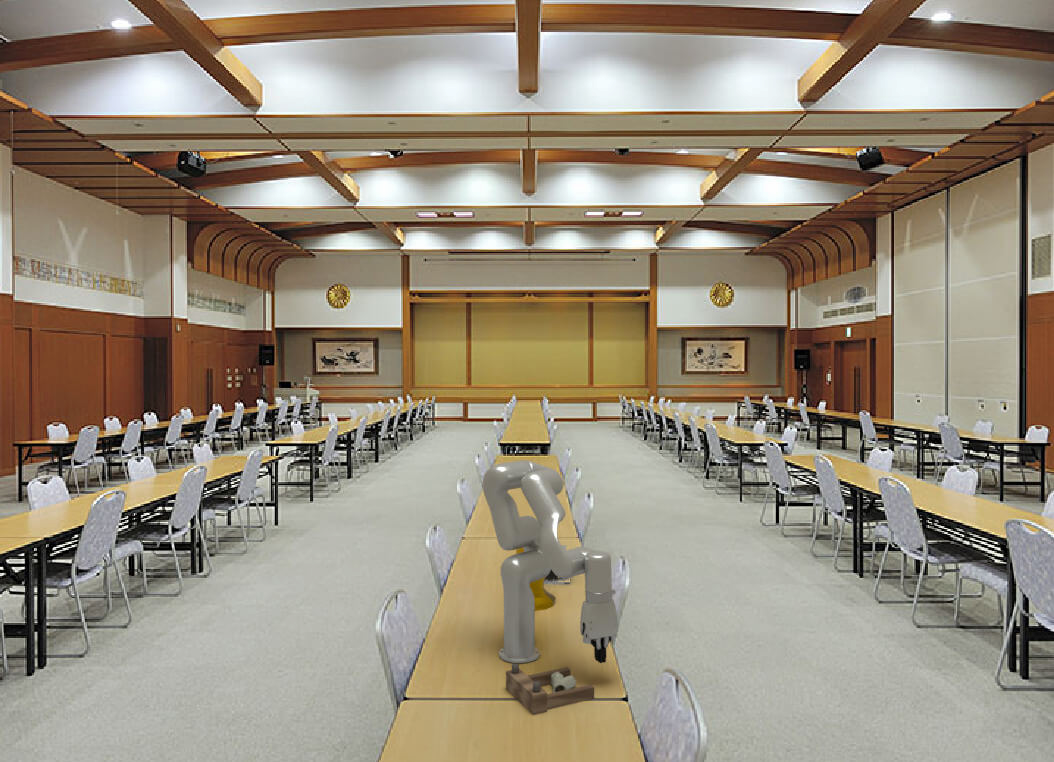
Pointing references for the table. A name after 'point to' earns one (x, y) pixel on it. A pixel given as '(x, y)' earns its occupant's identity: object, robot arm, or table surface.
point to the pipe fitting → (562, 682)
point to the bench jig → (536, 697)
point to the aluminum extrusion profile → (553, 579)
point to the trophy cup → (540, 592)
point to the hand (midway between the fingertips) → (600, 661)
